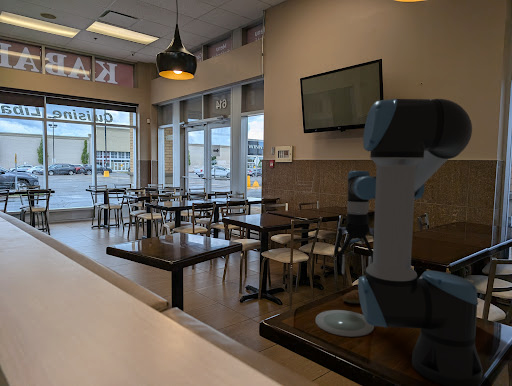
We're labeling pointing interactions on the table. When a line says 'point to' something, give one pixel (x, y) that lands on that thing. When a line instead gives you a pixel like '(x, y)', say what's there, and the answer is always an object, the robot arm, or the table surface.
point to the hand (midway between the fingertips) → (356, 274)
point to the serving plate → (343, 323)
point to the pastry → (352, 297)
